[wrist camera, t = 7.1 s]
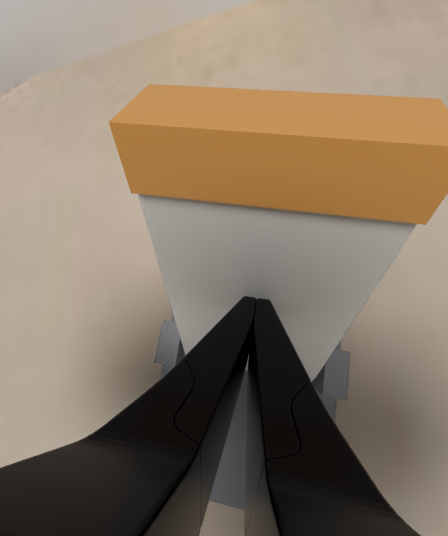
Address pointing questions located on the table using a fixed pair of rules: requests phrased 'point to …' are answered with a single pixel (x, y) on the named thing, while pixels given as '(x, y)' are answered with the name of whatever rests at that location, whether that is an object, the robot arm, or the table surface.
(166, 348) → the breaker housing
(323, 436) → the robot arm
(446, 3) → the table surface
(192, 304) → the lever
